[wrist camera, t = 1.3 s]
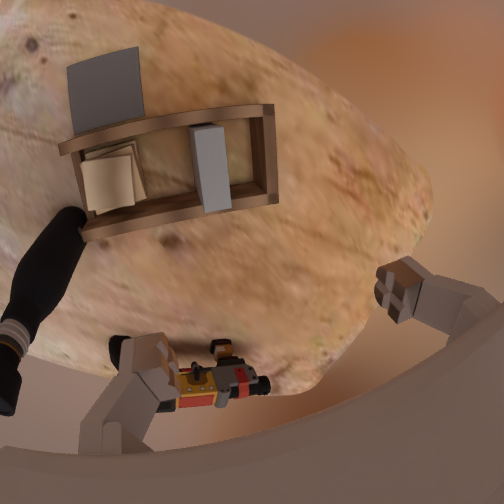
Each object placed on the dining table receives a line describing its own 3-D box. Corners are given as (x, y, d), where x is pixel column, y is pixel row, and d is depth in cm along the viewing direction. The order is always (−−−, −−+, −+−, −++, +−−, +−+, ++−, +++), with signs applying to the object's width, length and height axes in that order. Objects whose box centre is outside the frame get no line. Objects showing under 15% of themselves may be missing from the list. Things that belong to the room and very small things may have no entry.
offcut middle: (100, 208, 34) (97, 215, 32) (85, 160, 30) (79, 164, 28) (147, 192, 35) (146, 198, 33) (133, 143, 31) (131, 145, 29)
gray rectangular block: (195, 188, 39) (204, 212, 30) (187, 125, 34) (194, 131, 26) (216, 184, 39) (231, 207, 31) (209, 122, 35) (223, 126, 26)
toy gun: (242, 347, 59) (267, 402, 47) (111, 352, 48) (112, 416, 36) (248, 326, 57) (277, 382, 44) (107, 329, 45) (106, 396, 33)
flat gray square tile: (75, 134, 29) (74, 134, 29) (68, 67, 24) (66, 66, 24) (144, 115, 32) (144, 115, 31) (138, 47, 26) (137, 46, 26)
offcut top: (92, 205, 31) (88, 210, 29) (86, 159, 28) (81, 162, 26) (136, 199, 33) (134, 205, 31) (132, 152, 30) (130, 155, 28)
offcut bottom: (102, 204, 36) (98, 210, 34) (90, 151, 32) (85, 154, 30) (147, 193, 37) (146, 198, 35) (137, 138, 33) (134, 140, 31)
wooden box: (93, 224, 36) (84, 242, 31) (73, 138, 30) (57, 144, 25) (264, 190, 42) (278, 203, 37) (258, 104, 35) (274, 103, 30)
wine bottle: (48, 232, 34) (-39, 397, 9) (65, 197, 33) (-46, 359, 8) (81, 252, 38) (26, 433, 13) (99, 220, 36) (34, 406, 11)
